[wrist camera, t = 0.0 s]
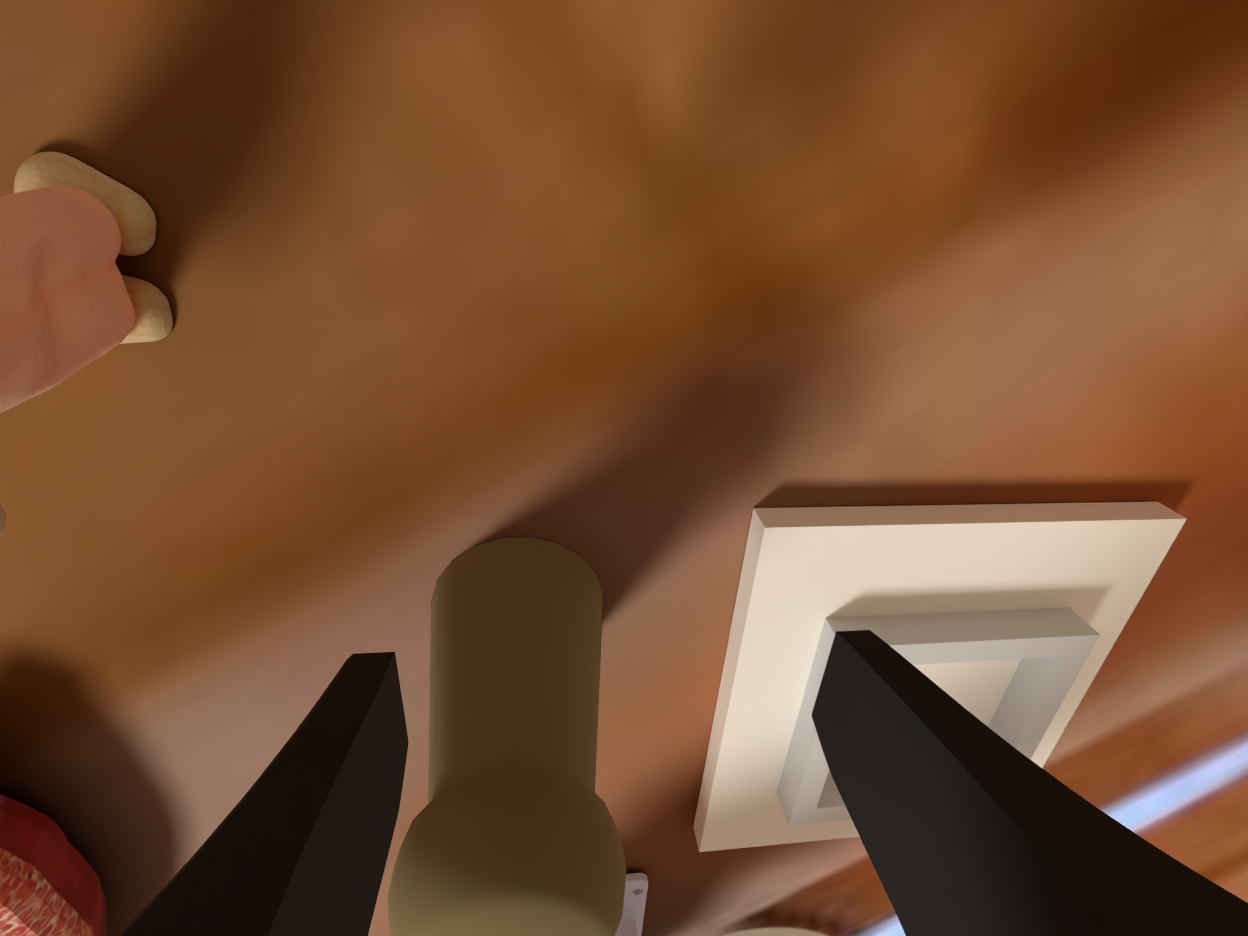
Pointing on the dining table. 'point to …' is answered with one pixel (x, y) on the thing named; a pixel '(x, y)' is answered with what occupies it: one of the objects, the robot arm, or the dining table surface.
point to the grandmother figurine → (70, 275)
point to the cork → (512, 756)
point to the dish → (45, 879)
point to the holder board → (913, 635)
